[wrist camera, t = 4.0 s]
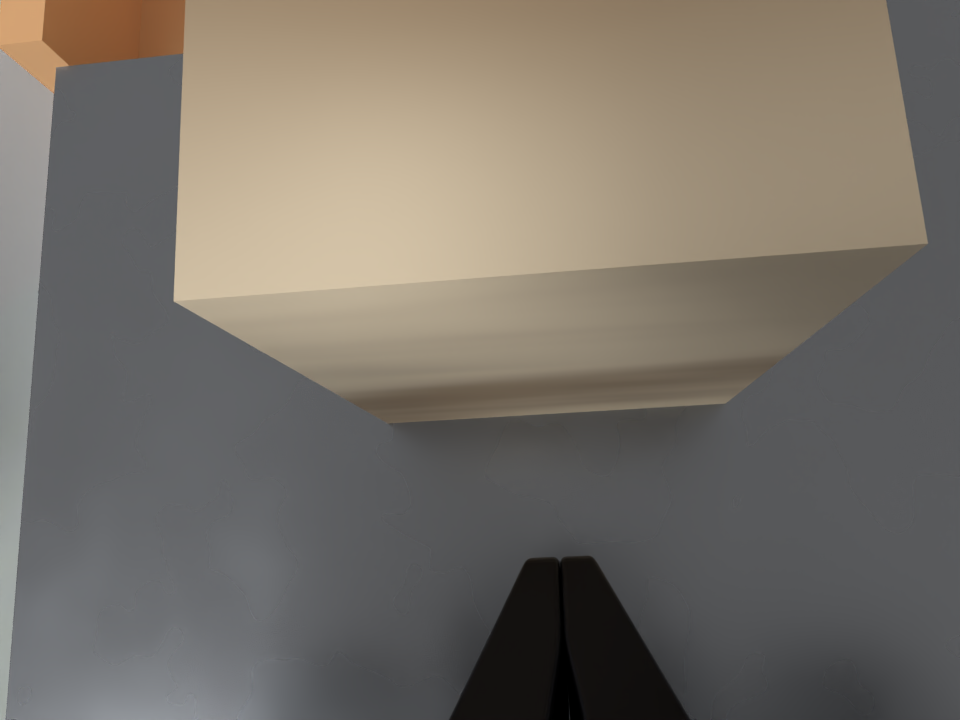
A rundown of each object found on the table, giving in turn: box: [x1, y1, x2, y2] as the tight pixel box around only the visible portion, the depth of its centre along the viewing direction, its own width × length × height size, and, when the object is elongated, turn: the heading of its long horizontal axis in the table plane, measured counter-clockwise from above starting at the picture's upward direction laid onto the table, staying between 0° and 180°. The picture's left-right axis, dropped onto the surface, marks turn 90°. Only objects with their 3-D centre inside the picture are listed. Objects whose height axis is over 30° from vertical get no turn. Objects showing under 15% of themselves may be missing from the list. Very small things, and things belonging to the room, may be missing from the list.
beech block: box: [174, 0, 928, 423], centre depth 11 cm, size 6×6×8 cm
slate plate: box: [6, 0, 960, 720], centre depth 15 cm, size 20×20×4 cm
